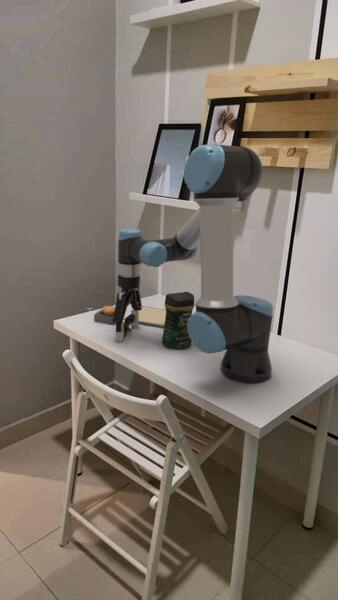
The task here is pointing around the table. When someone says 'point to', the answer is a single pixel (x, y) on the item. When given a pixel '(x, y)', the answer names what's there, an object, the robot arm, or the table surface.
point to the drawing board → (152, 317)
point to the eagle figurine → (128, 323)
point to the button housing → (103, 318)
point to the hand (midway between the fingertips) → (127, 333)
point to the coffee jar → (177, 320)
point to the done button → (108, 310)
